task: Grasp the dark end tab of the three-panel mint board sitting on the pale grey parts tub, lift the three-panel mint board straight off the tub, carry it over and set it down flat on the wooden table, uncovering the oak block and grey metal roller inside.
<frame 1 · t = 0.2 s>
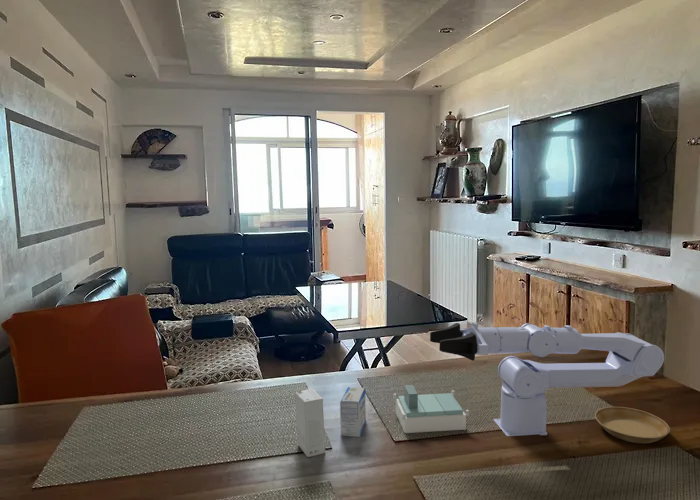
hand: (435, 341, 110), 21 cm above the table, tool horizontal, fingers open, 7 cm apart
skincare box: (310, 449, 107), on the table
medicine box: (353, 430, 115), on the table
tub: (429, 422, 117), on the table
metal roller: (419, 418, 119), point 1 cm above the table, touching tub
plant saucer: (630, 432, 113), on the table
three-panel mint board: (429, 406, 117), point 4 cm above the table, touching tub
oak block: (441, 421, 117), point 1 cm above the table, touching tub
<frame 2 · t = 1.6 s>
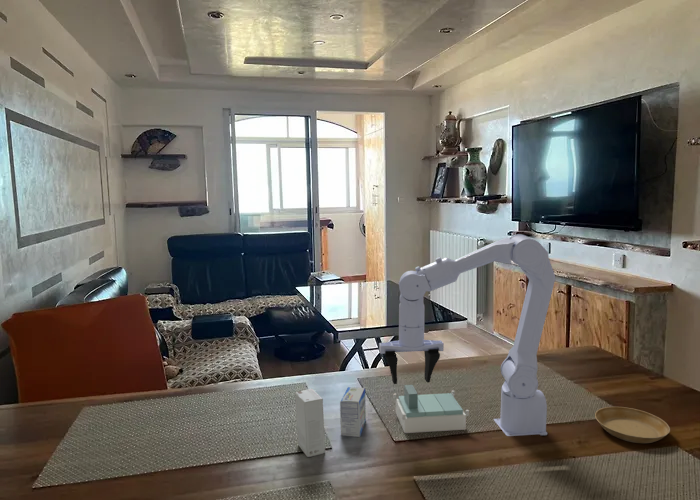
hand: (410, 381, 115), 10 cm above the table, tool pointing down, fingers open, 7 cm apart
nothing on the table moved.
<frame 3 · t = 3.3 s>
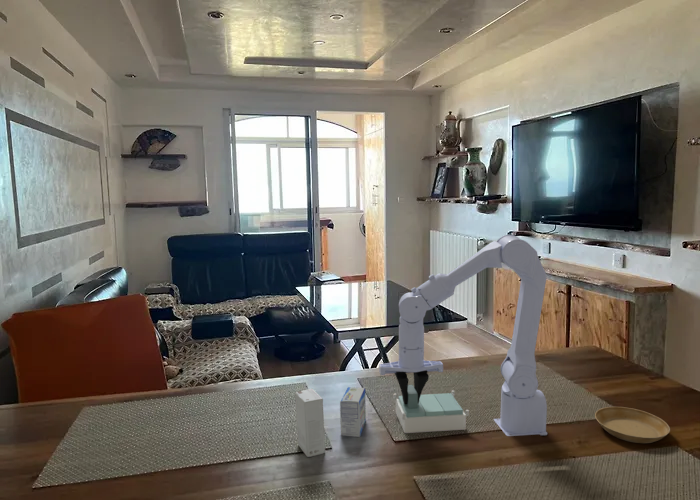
hand: (410, 402, 116), 5 cm above the table, tool pointing down, fingers closed on three-panel mint board, 2 cm apart
metal roller: (419, 417, 119), point 1 cm above the table, tilted 17°, touching tub
three-panel mint board: (429, 406, 117), point 4 cm above the table, touching gripper, tub
everything else where it was.
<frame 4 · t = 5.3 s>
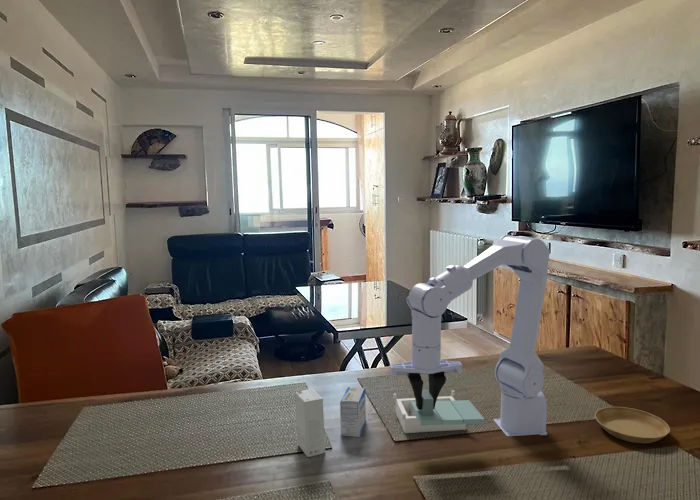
hand: (425, 407, 103), 10 cm above the table, tool pointing down, fingers closed on three-panel mint board
metal roller: (419, 416, 119), point 1 cm above the table, tilted 51°, touching tub
three-panel mint board: (445, 414, 104), point 8 cm above the table, touching gripper
everything else where it was.
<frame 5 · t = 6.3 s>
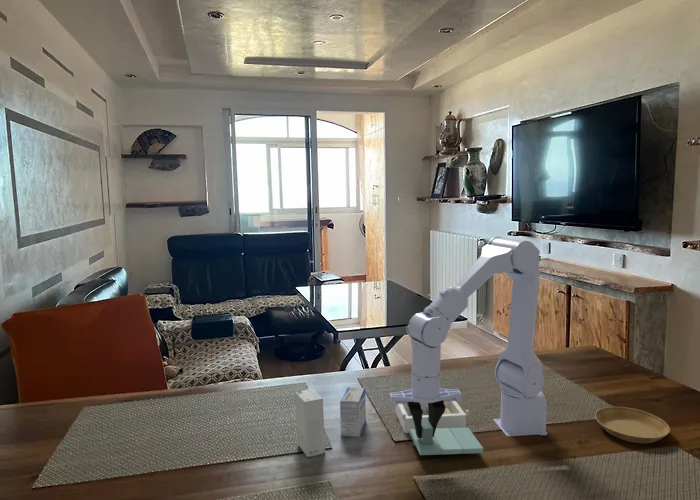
hand: (424, 435, 104), 4 cm above the table, tool pointing down, fingers closed on three-panel mint board, 2 cm apart
metal roller: (419, 417, 119), point 1 cm above the table, tilted 26°, touching tub
three-panel mint board: (445, 442, 104), point 2 cm above the table, touching gripper
everything else where it was.
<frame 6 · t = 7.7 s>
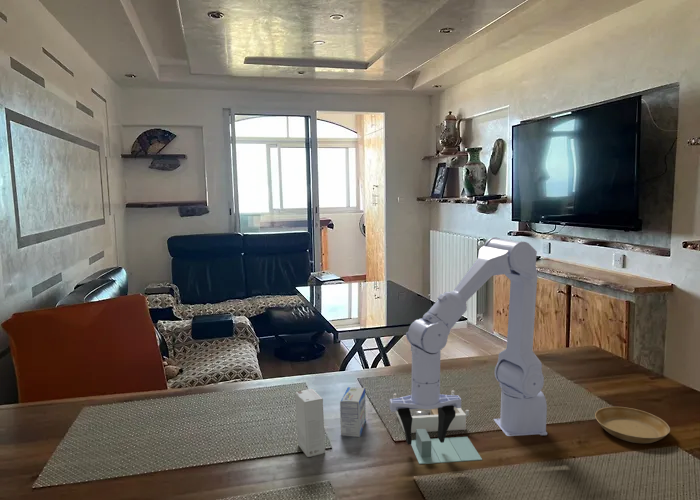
hand: (424, 441, 104), 3 cm above the table, tool pointing down, fingers open, 6 cm apart
metal roller: (419, 415, 118), point 1 cm above the table, tilted 74°, touching tub
three-panel mint board: (444, 453, 105), on the table
everything else where it was.
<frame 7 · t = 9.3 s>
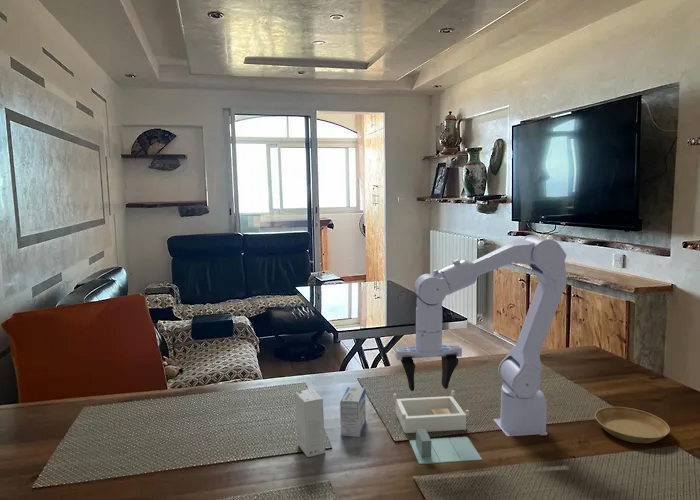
hand: (428, 388, 112), 10 cm above the table, tool pointing down, fingers open, 7 cm apart
metal roller: (424, 417, 114), point 3 cm above the table, tilted 168°, touching tub
everything else where it was.
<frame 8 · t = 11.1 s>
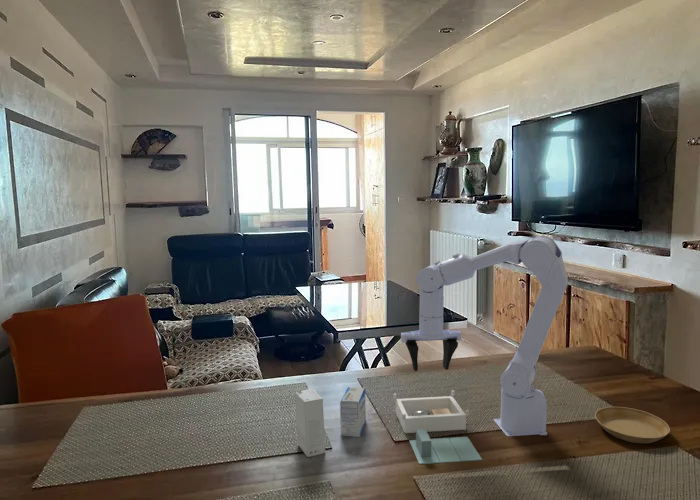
hand: (430, 368, 123), 10 cm above the table, tool pointing down, fingers open, 7 cm apart
metal roller: (419, 415, 118), point 1 cm above the table, tilted 71°, touching tub
everything else where it was.
at the end: three-panel mint board inside the target area (0.3 cm from its centre), on the table; three-panel mint board touching table; the gripper is holding nothing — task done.
